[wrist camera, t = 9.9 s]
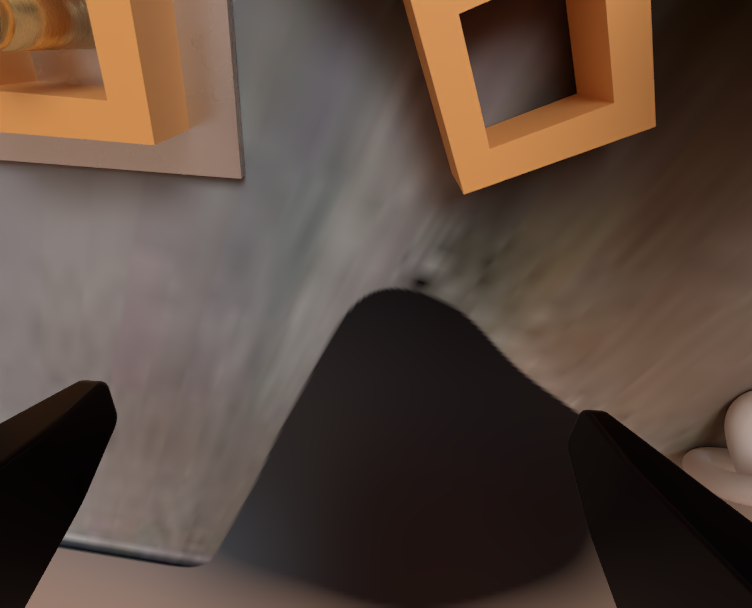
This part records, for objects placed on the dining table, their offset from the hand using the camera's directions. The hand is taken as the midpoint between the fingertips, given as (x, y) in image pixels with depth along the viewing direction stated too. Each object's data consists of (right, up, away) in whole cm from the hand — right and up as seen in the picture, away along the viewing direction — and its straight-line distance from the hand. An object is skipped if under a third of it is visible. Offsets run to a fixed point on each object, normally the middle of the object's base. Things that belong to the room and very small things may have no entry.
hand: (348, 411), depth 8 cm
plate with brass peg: (-9, +12, +7) cm, 17 cm away
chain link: (+5, +11, +7) cm, 14 cm away
